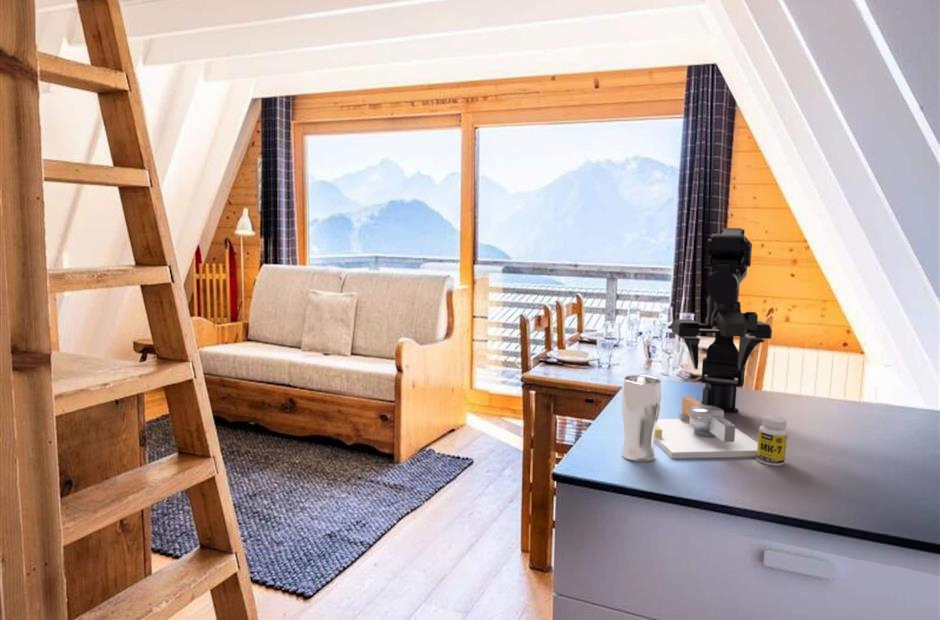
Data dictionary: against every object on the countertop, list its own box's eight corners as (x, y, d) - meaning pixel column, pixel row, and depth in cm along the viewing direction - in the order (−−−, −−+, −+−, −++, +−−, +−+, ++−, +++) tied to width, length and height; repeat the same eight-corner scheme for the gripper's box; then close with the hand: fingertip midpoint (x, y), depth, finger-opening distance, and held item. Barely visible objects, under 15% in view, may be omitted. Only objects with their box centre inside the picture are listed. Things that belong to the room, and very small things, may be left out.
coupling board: (720, 423, 140) (721, 411, 140) (768, 456, 122) (769, 442, 121) (636, 425, 139) (636, 412, 138) (671, 458, 120) (672, 444, 119)
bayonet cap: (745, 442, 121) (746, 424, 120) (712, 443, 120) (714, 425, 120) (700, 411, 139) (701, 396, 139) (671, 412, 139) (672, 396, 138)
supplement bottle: (755, 463, 118) (759, 419, 117) (757, 455, 122) (760, 412, 121) (784, 468, 116) (788, 423, 115) (785, 459, 120) (789, 416, 119)
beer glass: (636, 466, 116) (640, 386, 114) (611, 453, 122) (615, 376, 120) (665, 459, 119) (670, 381, 117) (639, 447, 125) (643, 373, 123)
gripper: (689, 299, 124) (684, 377, 126) (787, 301, 123) (780, 380, 125) (673, 292, 135) (668, 365, 137) (763, 294, 134) (757, 367, 137)
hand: (718, 369), depth 134 cm, fingers open, 9 cm apart
